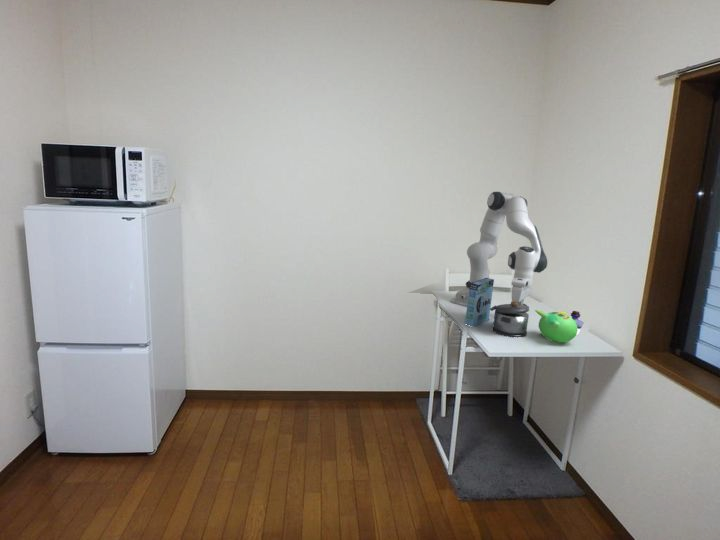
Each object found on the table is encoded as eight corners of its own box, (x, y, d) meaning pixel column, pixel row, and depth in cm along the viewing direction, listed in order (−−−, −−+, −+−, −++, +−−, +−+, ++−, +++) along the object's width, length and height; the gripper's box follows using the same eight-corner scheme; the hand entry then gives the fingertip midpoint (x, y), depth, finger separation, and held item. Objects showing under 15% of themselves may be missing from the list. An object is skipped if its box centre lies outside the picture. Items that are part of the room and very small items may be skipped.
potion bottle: (559, 332, 228) (563, 309, 225) (570, 330, 232) (573, 308, 230) (574, 337, 221) (578, 314, 218) (585, 335, 225) (589, 312, 222)
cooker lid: (486, 312, 221) (486, 305, 220) (497, 306, 234) (496, 299, 233) (524, 315, 210) (523, 307, 210) (532, 308, 223) (532, 300, 223)
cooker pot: (486, 333, 220) (488, 313, 218) (499, 323, 237) (501, 305, 235) (520, 341, 210) (523, 321, 208) (531, 330, 228) (534, 312, 226)
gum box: (481, 317, 245) (485, 277, 240) (489, 320, 242) (494, 279, 237) (464, 325, 230) (469, 282, 226) (473, 327, 227) (478, 284, 223)
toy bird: (582, 346, 208) (587, 316, 206) (553, 348, 204) (557, 318, 201) (556, 333, 225) (560, 305, 222) (528, 335, 220) (532, 306, 218)
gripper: (522, 276, 226) (519, 302, 229) (510, 282, 210) (507, 310, 212) (535, 278, 223) (531, 304, 225) (524, 284, 206) (520, 312, 209)
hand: (519, 307), depth 219 cm, fingers closed, pressing on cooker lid
